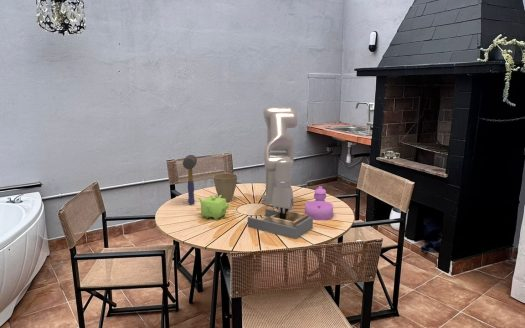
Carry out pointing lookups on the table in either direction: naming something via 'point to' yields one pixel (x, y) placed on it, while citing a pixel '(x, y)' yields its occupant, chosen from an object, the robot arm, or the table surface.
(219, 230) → the table surface
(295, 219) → the crate
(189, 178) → the rubber mallet
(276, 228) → the tray
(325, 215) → the container set
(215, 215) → the green lumpy block
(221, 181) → the plant pot
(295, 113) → the robot arm
